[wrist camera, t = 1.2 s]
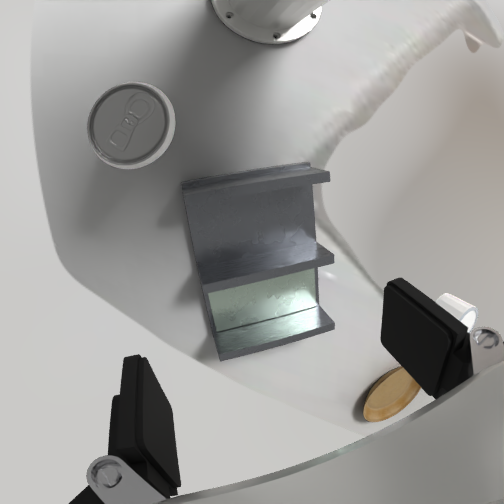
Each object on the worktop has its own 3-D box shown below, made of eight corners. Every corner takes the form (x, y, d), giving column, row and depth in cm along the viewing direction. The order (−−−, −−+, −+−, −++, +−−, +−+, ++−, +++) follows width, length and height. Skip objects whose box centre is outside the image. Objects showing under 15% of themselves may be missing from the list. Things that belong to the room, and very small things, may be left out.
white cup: (423, 325, 50) (448, 345, 44) (435, 290, 48) (463, 309, 41) (446, 321, 52) (469, 338, 45) (457, 288, 50) (483, 305, 43)
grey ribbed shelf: (181, 182, 32) (183, 190, 27) (306, 162, 34) (329, 166, 29) (213, 337, 39) (221, 364, 34) (316, 310, 42) (334, 332, 37)
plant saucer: (343, 413, 53) (349, 422, 50) (388, 353, 50) (396, 361, 47) (388, 414, 58) (394, 421, 56) (428, 362, 55) (435, 369, 53)
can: (186, 119, 30) (195, 106, 19) (152, 172, 31) (142, 189, 20) (134, 89, 27) (116, 61, 16) (101, 142, 28) (64, 144, 17)
